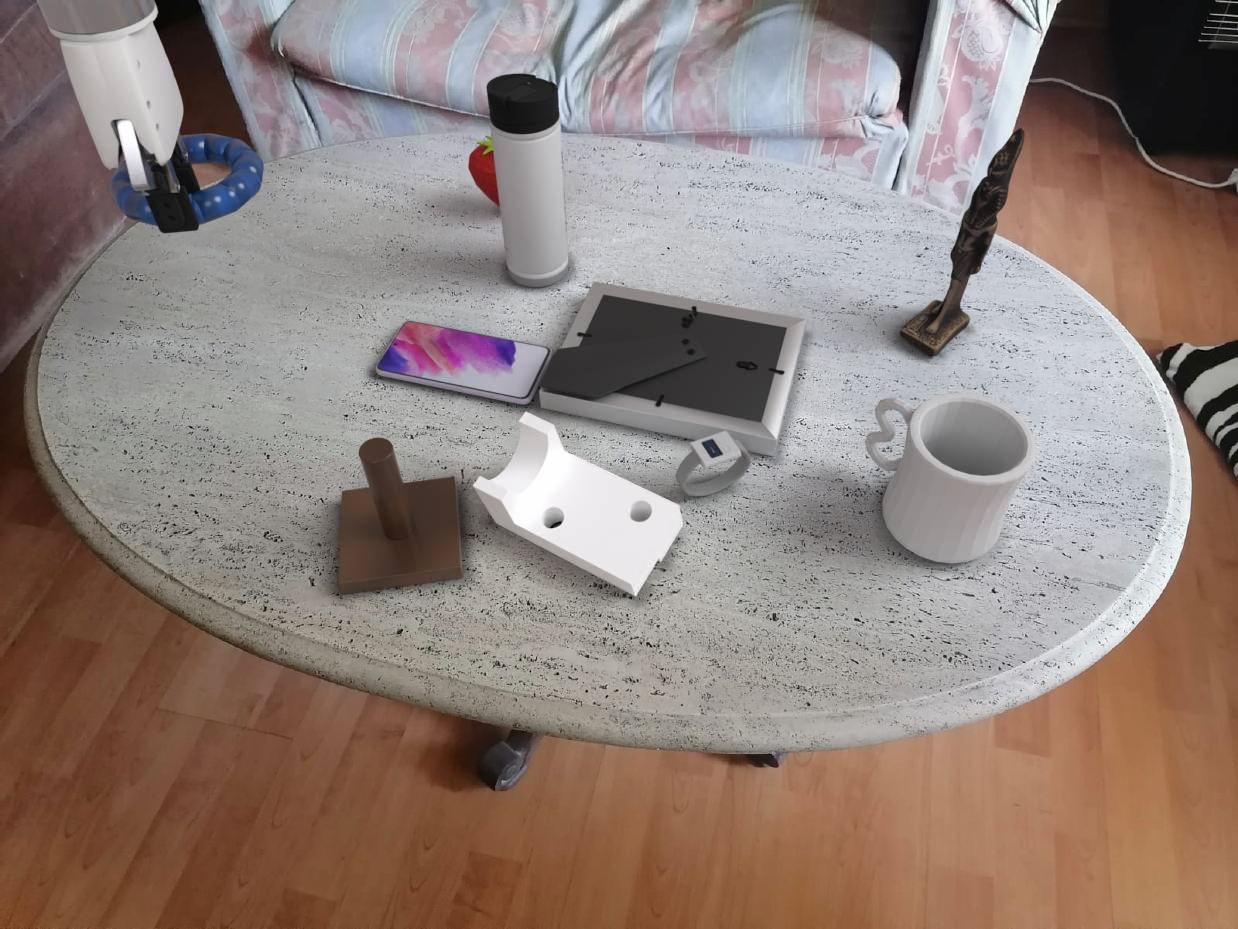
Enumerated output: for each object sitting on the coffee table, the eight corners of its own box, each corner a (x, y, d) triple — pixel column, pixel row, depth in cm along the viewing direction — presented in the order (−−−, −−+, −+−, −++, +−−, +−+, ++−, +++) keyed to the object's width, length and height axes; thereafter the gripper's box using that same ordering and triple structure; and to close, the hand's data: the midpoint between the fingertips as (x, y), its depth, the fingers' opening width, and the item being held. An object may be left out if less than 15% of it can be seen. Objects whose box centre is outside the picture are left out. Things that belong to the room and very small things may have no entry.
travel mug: (492, 274, 96) (467, 85, 81) (534, 243, 100) (518, 56, 84) (539, 298, 94) (522, 107, 78) (581, 265, 97) (572, 76, 82)
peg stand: (342, 594, 71) (306, 507, 63) (345, 502, 77) (313, 411, 69) (463, 578, 72) (442, 490, 64) (457, 487, 78) (437, 396, 70)
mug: (1020, 522, 75) (1064, 436, 67) (954, 589, 71) (993, 506, 63) (891, 439, 81) (918, 351, 73) (823, 496, 77) (844, 409, 69)
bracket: (499, 528, 76) (472, 486, 70) (546, 458, 79) (525, 411, 72) (637, 601, 72) (622, 563, 65) (683, 524, 74) (674, 480, 67)
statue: (894, 341, 89) (949, 148, 74) (934, 305, 92) (993, 113, 77) (933, 362, 87) (998, 167, 72) (972, 324, 91) (1041, 131, 75)
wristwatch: (736, 464, 79) (742, 423, 75) (752, 487, 78) (759, 446, 74) (669, 487, 78) (671, 446, 74) (684, 512, 76) (687, 471, 72)
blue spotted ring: (105, 239, 81) (93, 212, 79) (132, 160, 89) (121, 135, 87) (259, 224, 82) (251, 198, 80) (271, 148, 91) (263, 123, 89)
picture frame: (540, 408, 84) (773, 456, 80) (538, 385, 82) (777, 433, 78) (594, 298, 94) (804, 336, 90) (593, 274, 91) (808, 313, 87)
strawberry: (484, 191, 106) (473, 106, 98) (549, 199, 105) (543, 115, 97) (466, 221, 102) (453, 136, 95) (533, 230, 101) (525, 145, 93)
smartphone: (528, 401, 83) (371, 369, 86) (529, 408, 84) (374, 376, 86) (554, 346, 87) (405, 317, 90) (555, 353, 88) (406, 324, 91)
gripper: (66, -42, 73) (154, 172, 87) (12, 53, 63) (121, 279, 76) (167, -48, 74) (238, 164, 88) (130, 45, 64) (217, 270, 77)
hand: (183, 216), depth 82 cm, fingers closed on blue spotted ring, 2 cm apart
